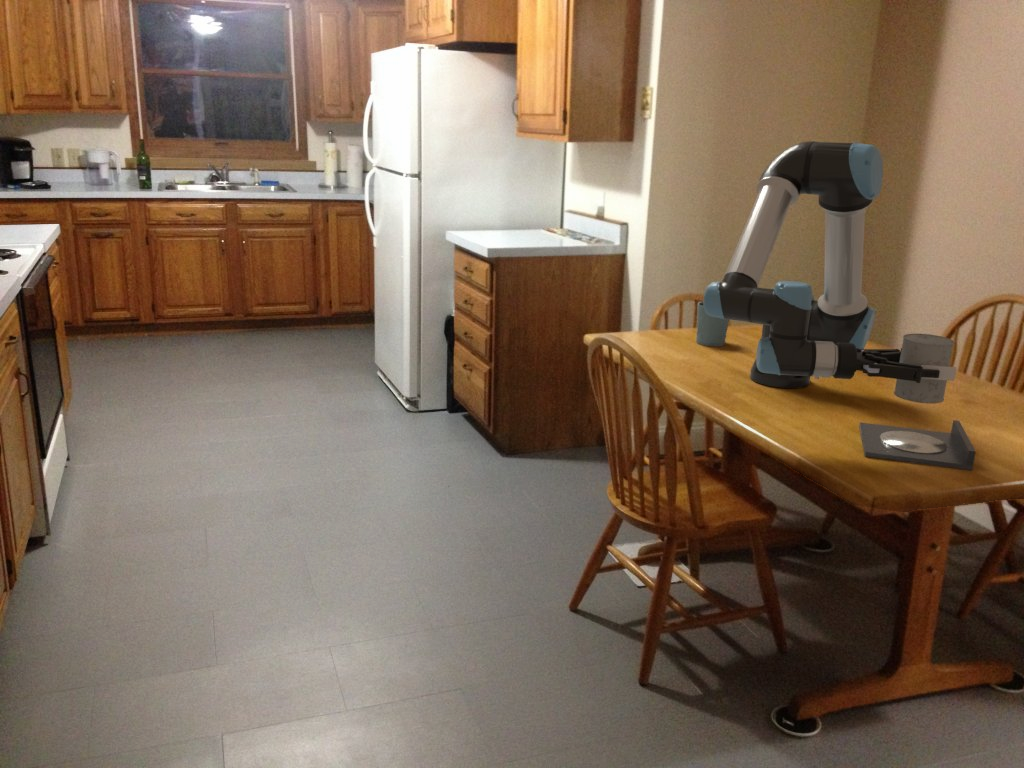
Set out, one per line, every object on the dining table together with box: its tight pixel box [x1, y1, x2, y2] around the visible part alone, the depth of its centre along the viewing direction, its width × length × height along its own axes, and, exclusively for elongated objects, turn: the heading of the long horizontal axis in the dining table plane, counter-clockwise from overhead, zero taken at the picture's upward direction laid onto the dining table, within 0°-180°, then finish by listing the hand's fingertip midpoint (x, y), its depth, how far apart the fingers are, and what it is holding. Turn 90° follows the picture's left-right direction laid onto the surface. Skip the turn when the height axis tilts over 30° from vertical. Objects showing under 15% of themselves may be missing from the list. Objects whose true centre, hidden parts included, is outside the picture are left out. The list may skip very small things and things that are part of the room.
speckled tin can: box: [893, 333, 955, 404], centre depth 183 cm, size 10×10×12 cm
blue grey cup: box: [695, 301, 730, 347], centre depth 271 cm, size 10×10×12 cm
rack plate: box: [858, 419, 976, 471], centre depth 188 cm, size 20×20×4 cm
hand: (946, 367), depth 182 cm, fingers closed on speckled tin can, 9 cm apart
